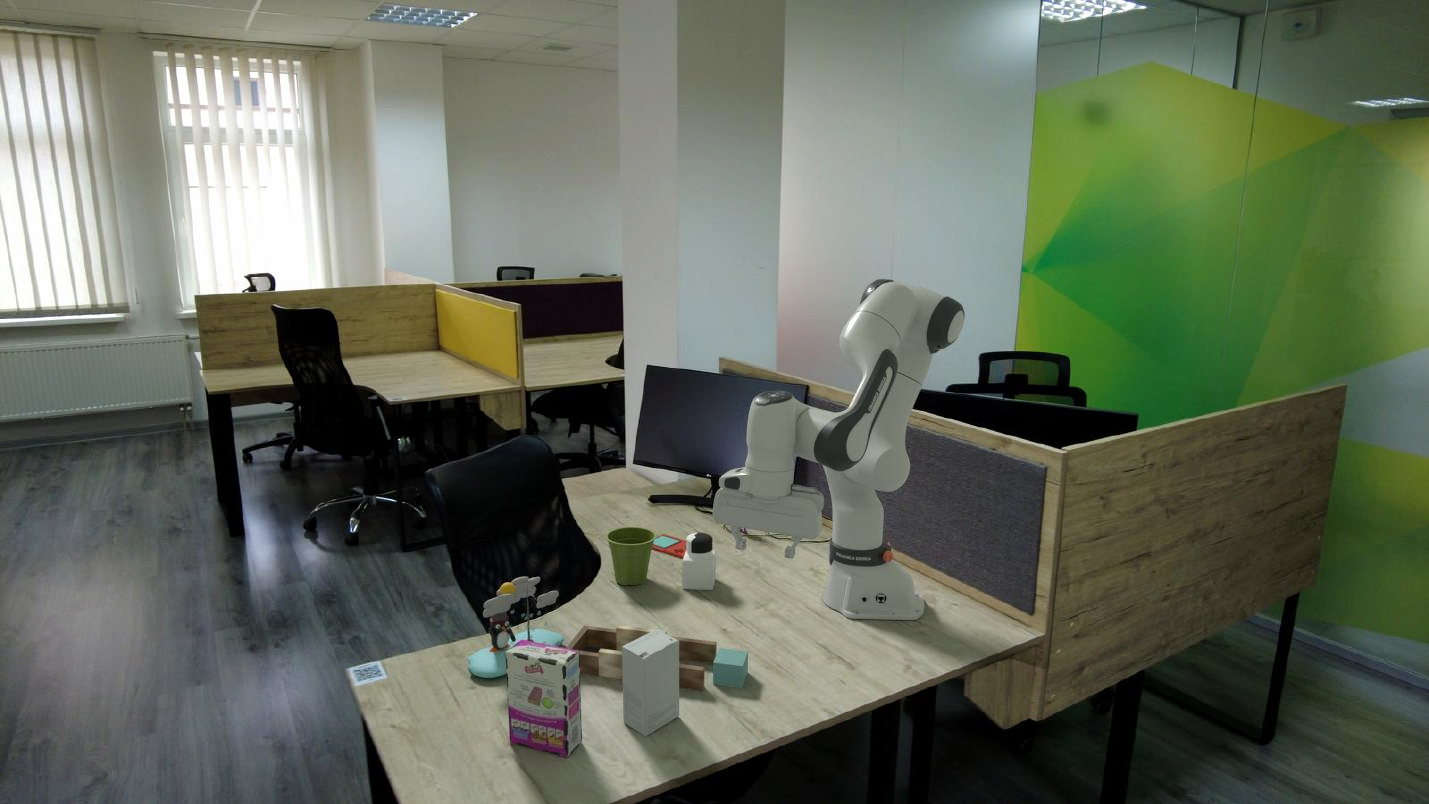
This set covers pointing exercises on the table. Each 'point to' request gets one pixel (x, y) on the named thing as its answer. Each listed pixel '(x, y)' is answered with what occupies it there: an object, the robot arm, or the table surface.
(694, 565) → the medicine bottle
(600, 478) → the table surface
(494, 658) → the penguin figurine
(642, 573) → the plant pot
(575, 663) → the candy bar box
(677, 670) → the skincare box
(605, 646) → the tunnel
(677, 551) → the handheld gaming console
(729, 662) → the teal block
